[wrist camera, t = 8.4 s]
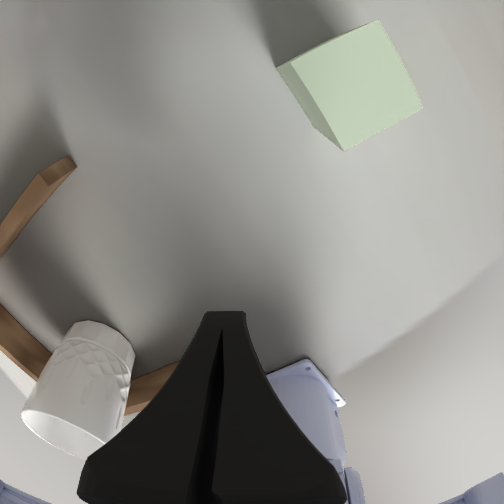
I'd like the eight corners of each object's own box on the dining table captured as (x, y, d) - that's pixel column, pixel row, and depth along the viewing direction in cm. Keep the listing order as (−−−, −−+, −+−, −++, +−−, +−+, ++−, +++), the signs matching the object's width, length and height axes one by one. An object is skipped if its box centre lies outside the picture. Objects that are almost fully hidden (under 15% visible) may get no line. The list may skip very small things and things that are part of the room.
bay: (238, 345, 25) (237, 379, 22) (102, 398, 30) (94, 423, 27) (68, 155, 17) (38, 172, 14) (-26, 282, 22) (-44, 303, 19)
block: (372, 95, 16) (424, 108, 10) (314, 127, 17) (344, 151, 11) (337, 35, 14) (378, 19, 9) (275, 68, 15) (290, 62, 10)
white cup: (114, 382, 28) (90, 466, 20) (52, 337, 25) (11, 420, 17) (158, 354, 26) (135, 456, 17) (86, 299, 23) (34, 399, 14)
